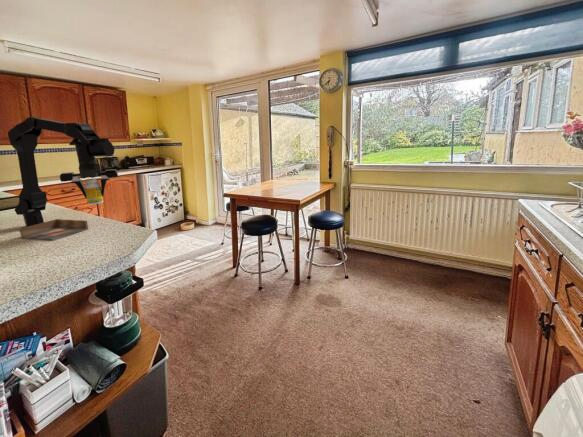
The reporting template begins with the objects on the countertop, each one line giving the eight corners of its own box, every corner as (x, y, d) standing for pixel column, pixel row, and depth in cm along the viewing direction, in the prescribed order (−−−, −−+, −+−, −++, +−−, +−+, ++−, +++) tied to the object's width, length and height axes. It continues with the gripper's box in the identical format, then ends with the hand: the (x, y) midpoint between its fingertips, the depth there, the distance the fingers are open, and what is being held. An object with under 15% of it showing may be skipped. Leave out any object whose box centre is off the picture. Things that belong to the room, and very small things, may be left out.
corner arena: (21, 238, 114) (19, 229, 113) (58, 227, 127) (56, 219, 126) (53, 240, 109) (50, 231, 108) (88, 229, 122) (86, 220, 121)
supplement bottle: (91, 202, 125) (86, 178, 122) (105, 201, 126) (101, 177, 123) (85, 205, 120) (80, 180, 117) (100, 204, 121) (95, 179, 118)
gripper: (52, 159, 107) (62, 203, 111) (113, 156, 115) (121, 197, 119) (58, 158, 116) (67, 198, 121) (114, 155, 125) (121, 193, 129)
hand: (94, 196), depth 122 cm, fingers closed on supplement bottle, 5 cm apart
